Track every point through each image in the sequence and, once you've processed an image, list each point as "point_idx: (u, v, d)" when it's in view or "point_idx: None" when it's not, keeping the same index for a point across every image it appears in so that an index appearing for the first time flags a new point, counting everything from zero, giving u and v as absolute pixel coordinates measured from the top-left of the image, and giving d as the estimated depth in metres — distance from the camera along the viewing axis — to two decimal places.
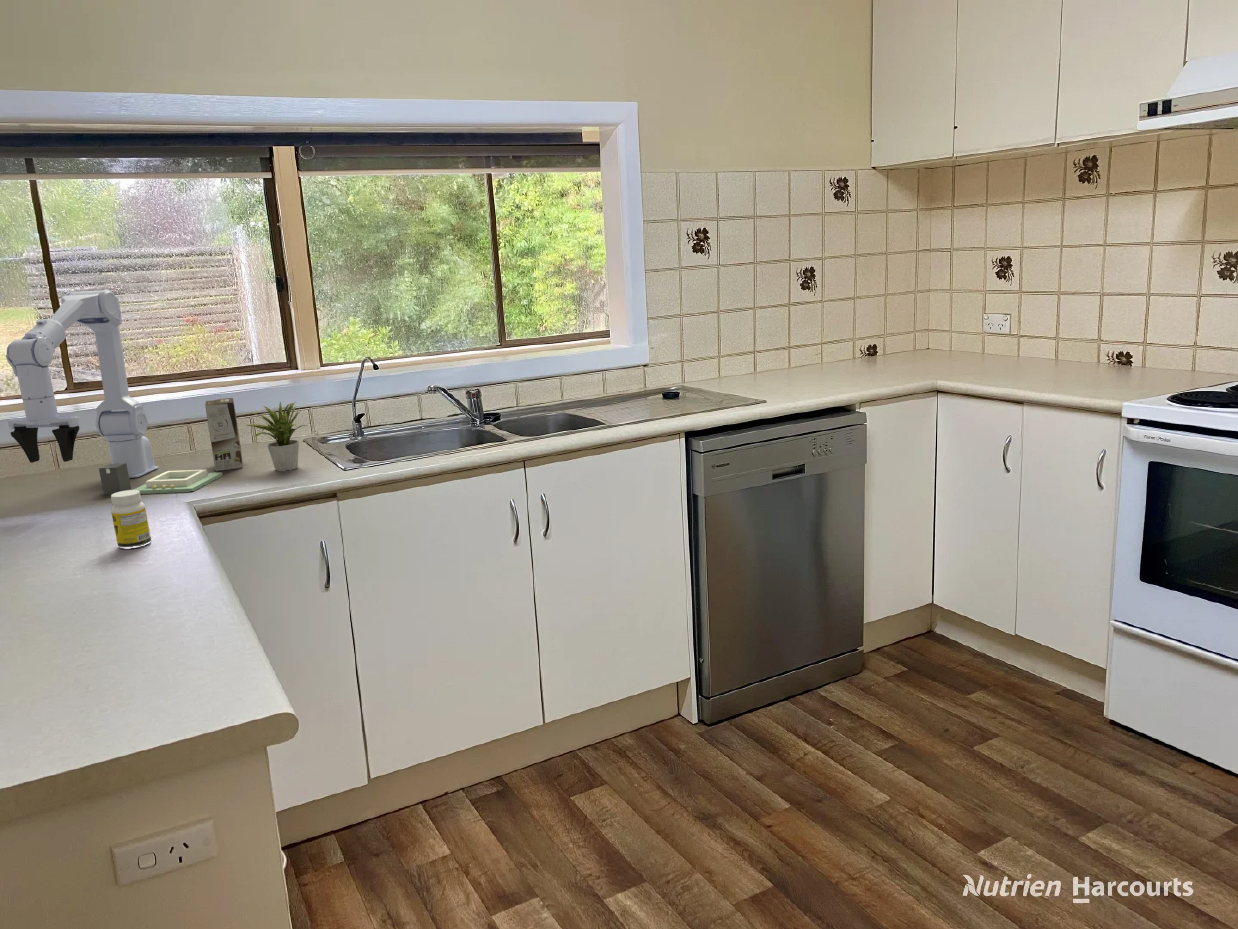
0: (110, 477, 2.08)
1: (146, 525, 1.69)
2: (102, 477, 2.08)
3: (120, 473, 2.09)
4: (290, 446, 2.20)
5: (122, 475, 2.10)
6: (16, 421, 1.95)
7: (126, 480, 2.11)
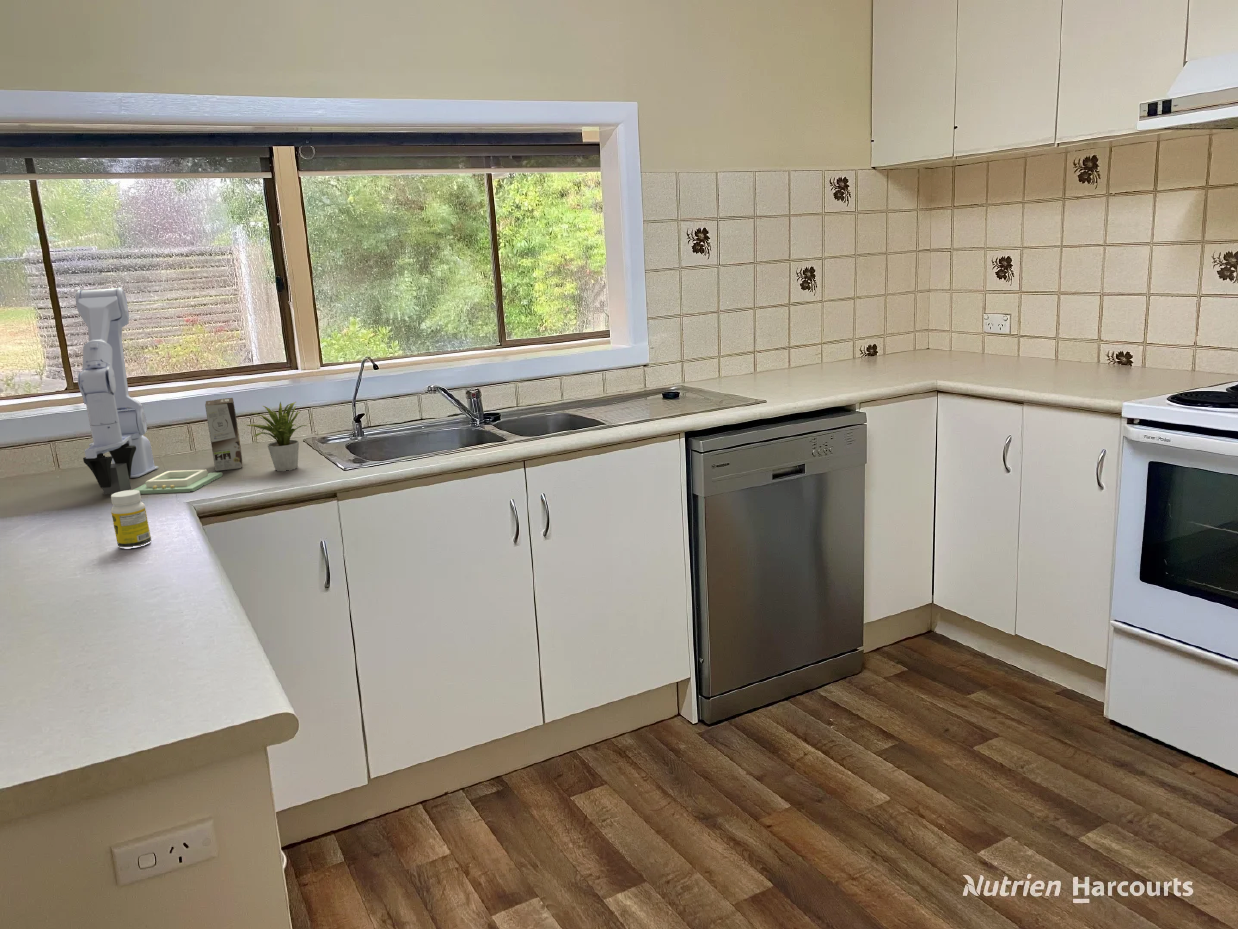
0: None
1: (146, 525, 1.69)
2: None
3: (120, 473, 2.09)
4: (290, 446, 2.20)
5: (122, 475, 2.10)
6: None
7: (126, 480, 2.11)
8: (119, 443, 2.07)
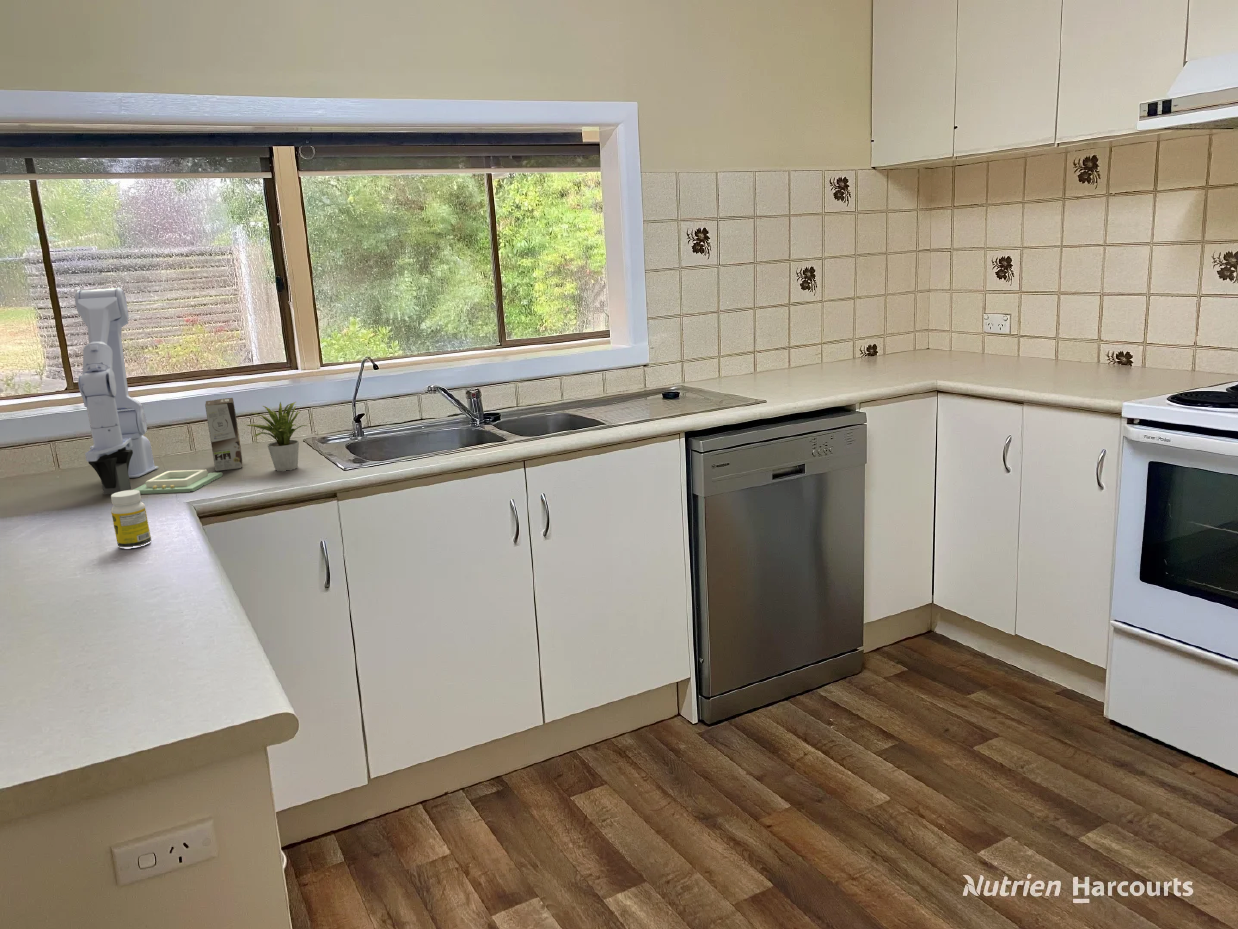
0: None
1: (146, 525, 1.69)
2: None
3: (120, 473, 2.09)
4: (290, 446, 2.20)
5: (122, 475, 2.09)
6: None
7: (126, 480, 2.11)
8: (120, 446, 2.07)
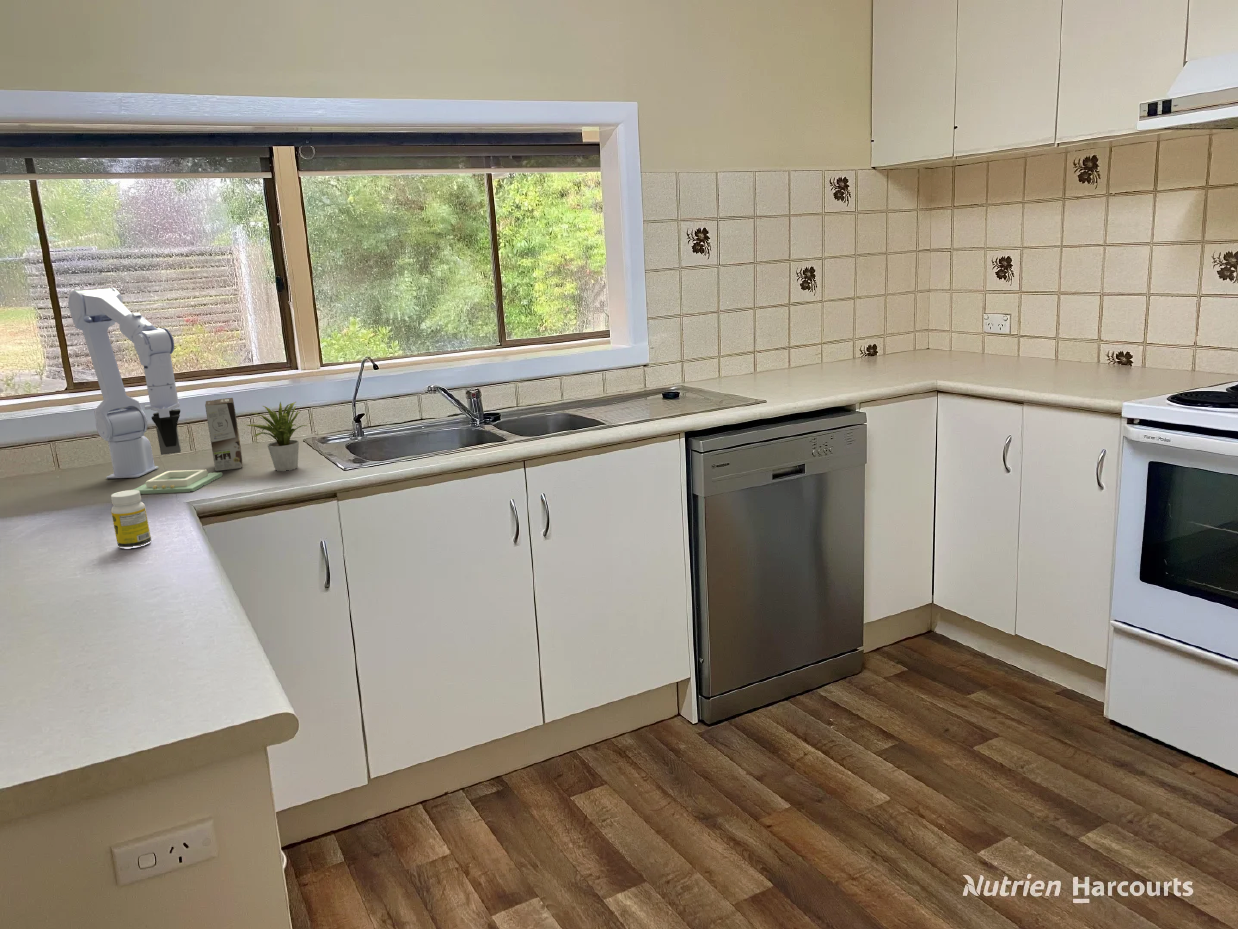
0: None
1: (146, 525, 1.69)
2: (160, 437, 2.09)
3: (177, 432, 2.11)
4: (290, 446, 2.20)
5: None
6: None
7: (179, 440, 2.13)
8: (178, 403, 2.10)
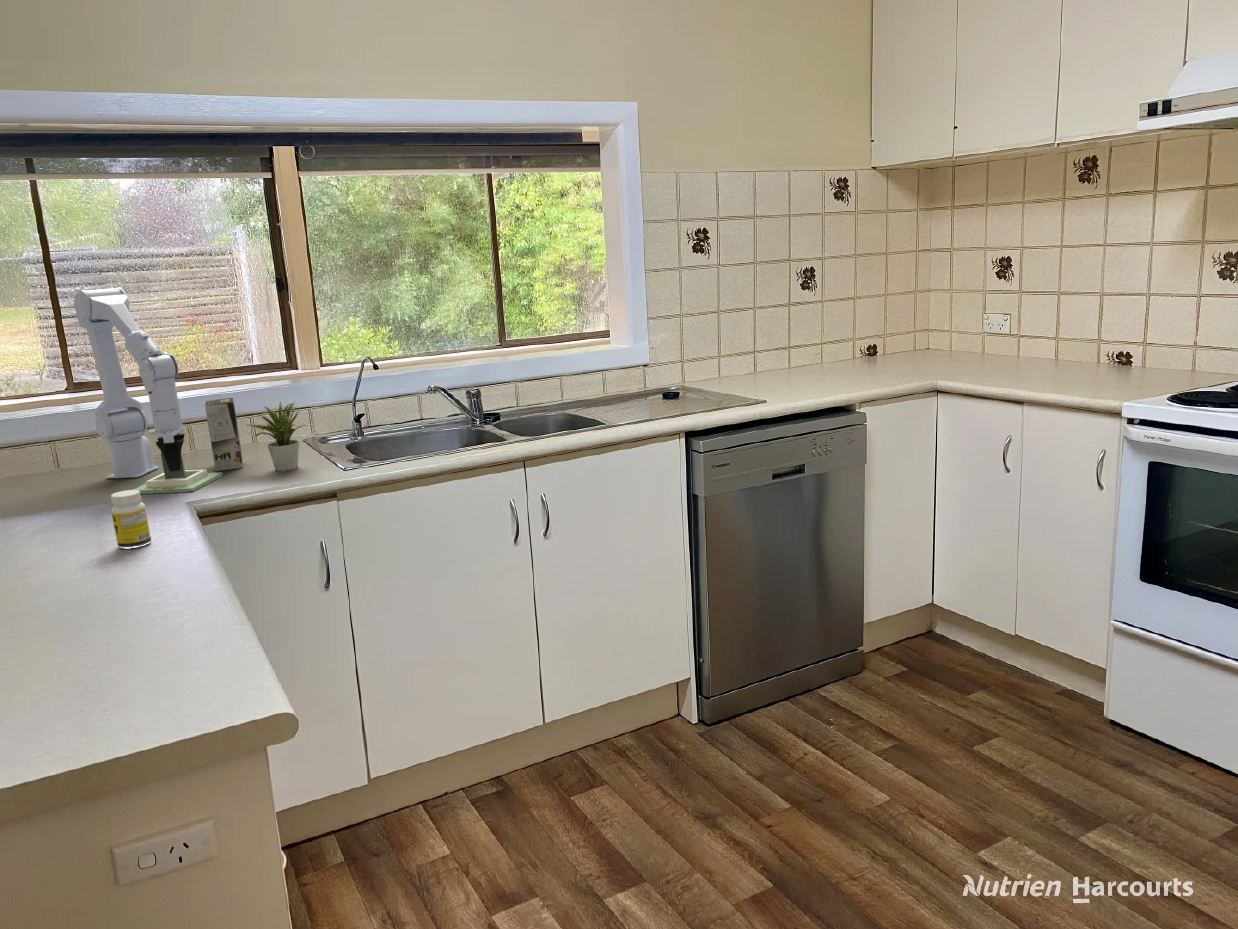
0: None
1: (146, 525, 1.69)
2: (164, 462, 2.10)
3: (181, 457, 2.12)
4: (290, 446, 2.20)
5: (182, 459, 2.13)
6: None
7: (183, 464, 2.14)
8: (183, 428, 2.11)
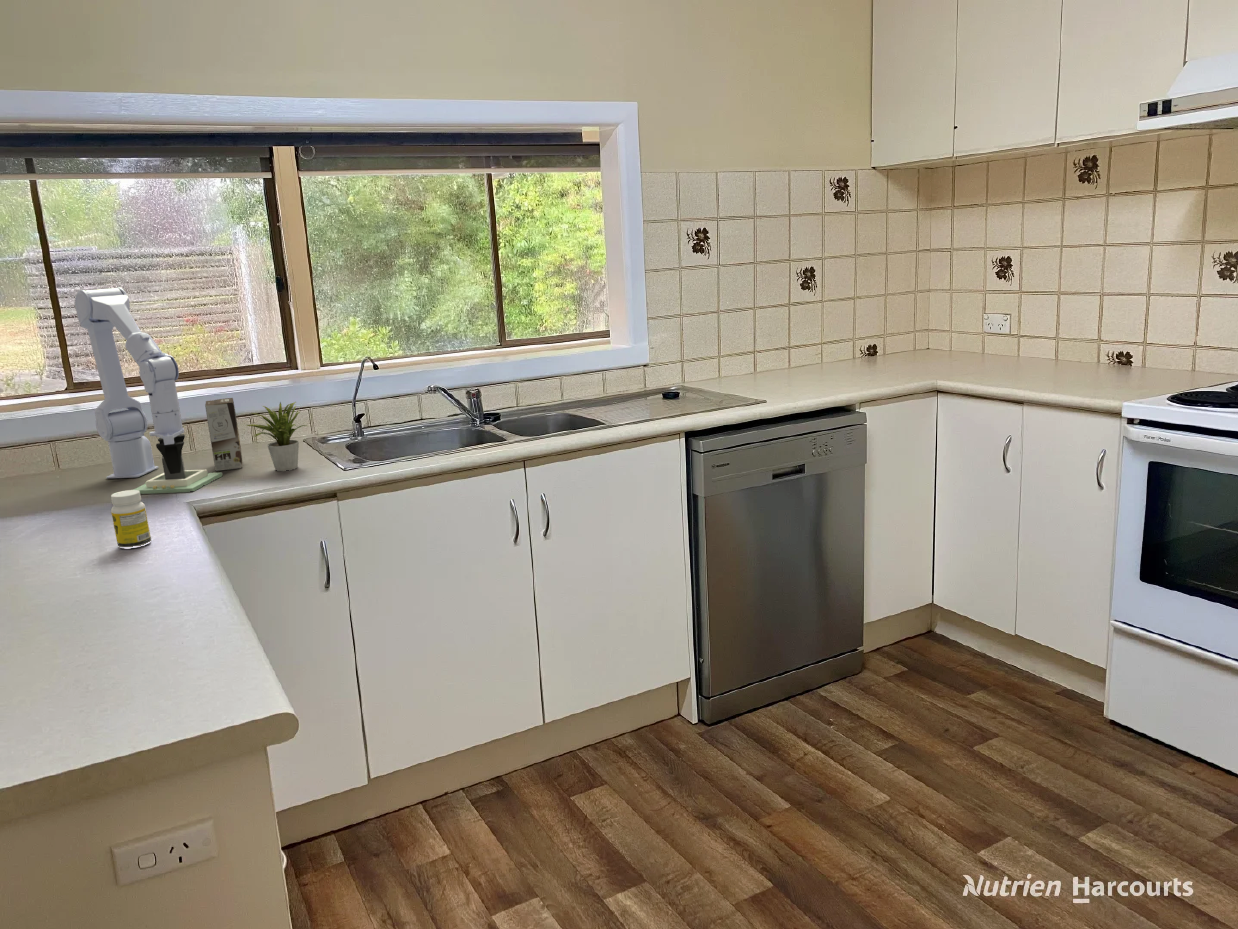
0: None
1: (146, 525, 1.69)
2: (165, 467, 2.10)
3: (182, 462, 2.12)
4: (290, 446, 2.20)
5: (183, 464, 2.13)
6: None
7: (184, 469, 2.14)
8: (183, 430, 2.11)
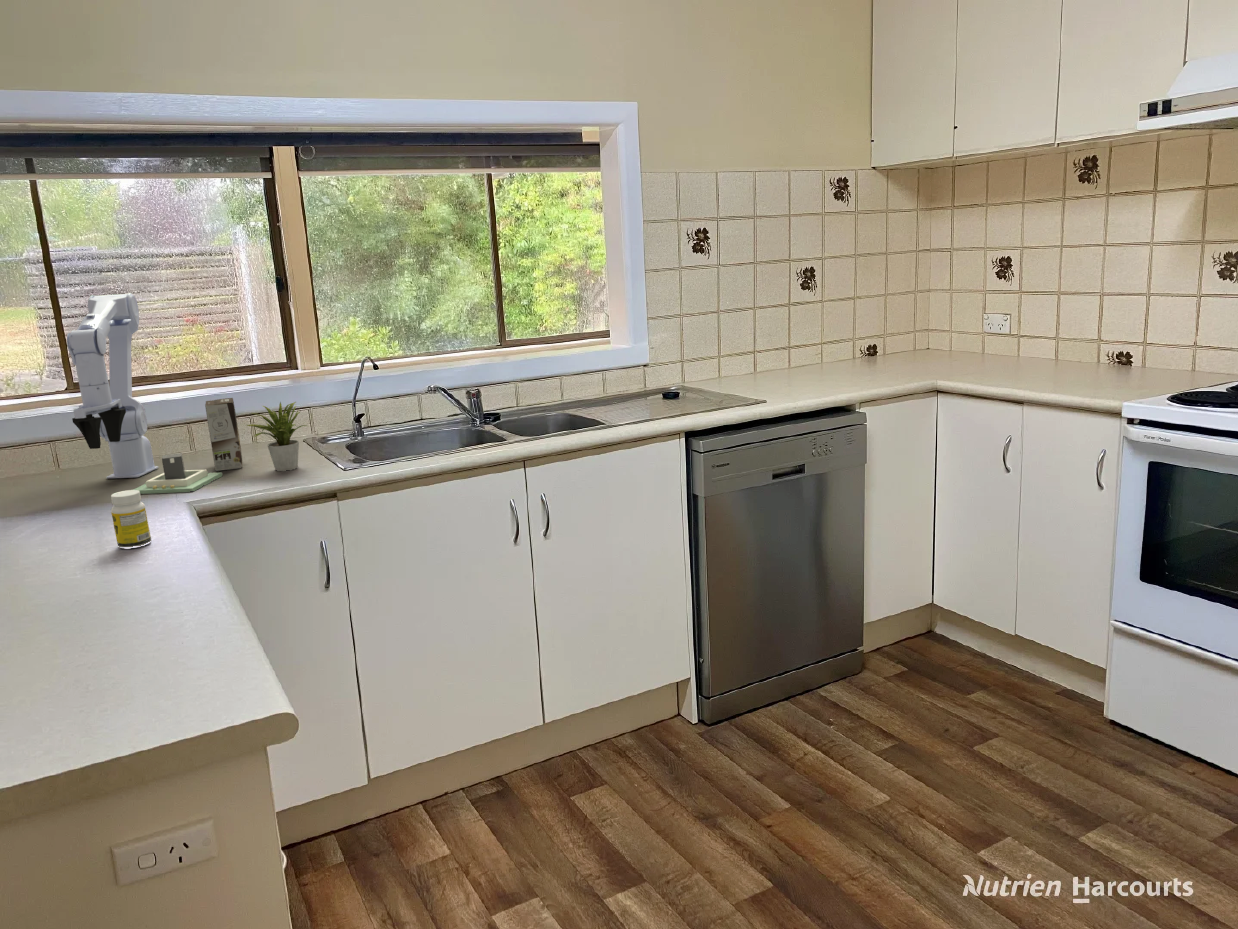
0: (174, 467, 2.11)
1: (146, 525, 1.69)
2: (165, 467, 2.10)
3: (182, 462, 2.12)
4: (290, 446, 2.20)
5: (183, 464, 2.13)
6: None
7: (184, 469, 2.14)
8: (108, 404, 2.07)
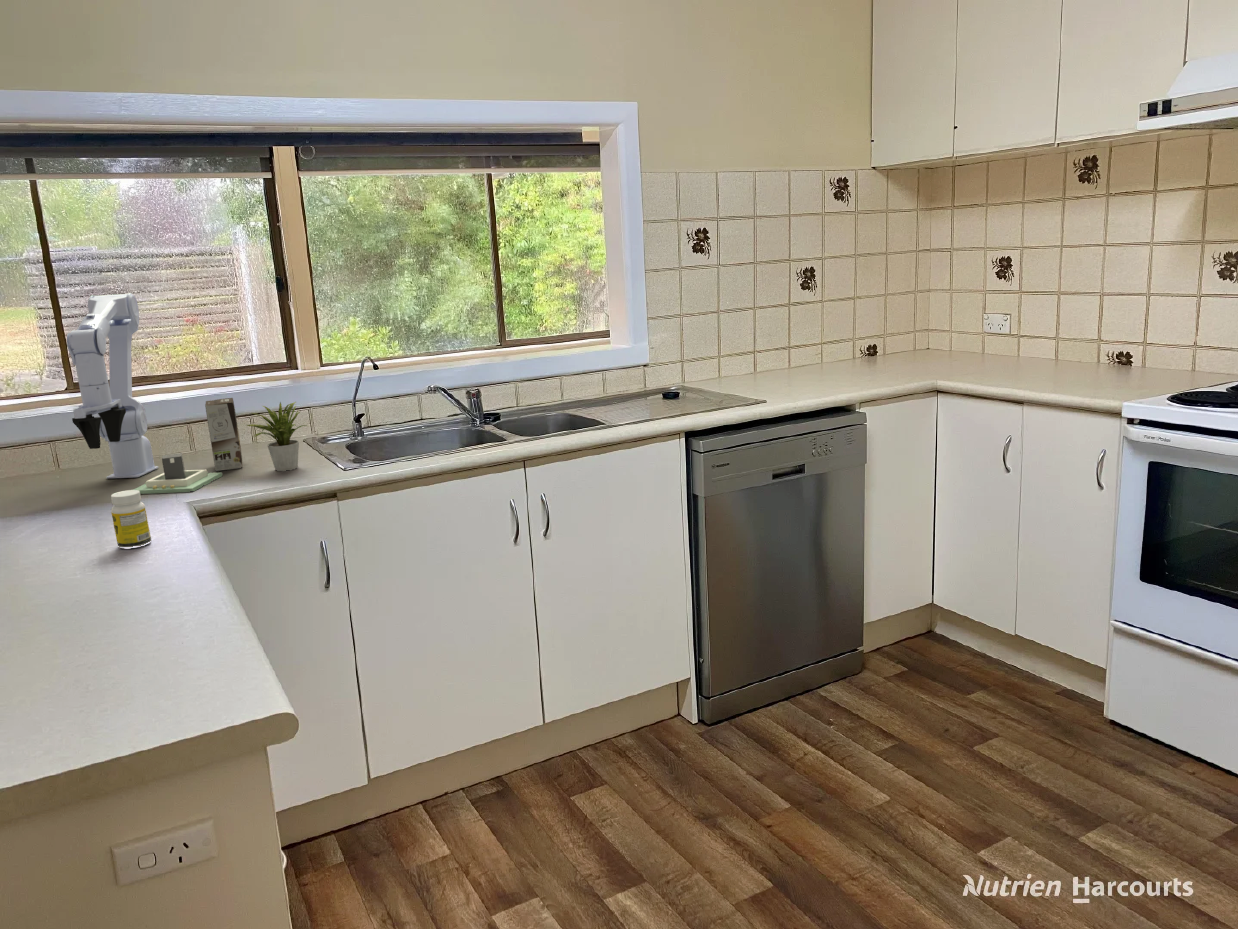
0: (174, 467, 2.11)
1: (146, 525, 1.69)
2: (165, 467, 2.10)
3: (182, 462, 2.12)
4: (290, 446, 2.20)
5: (183, 464, 2.13)
6: None
7: (184, 469, 2.14)
8: (108, 404, 2.07)
